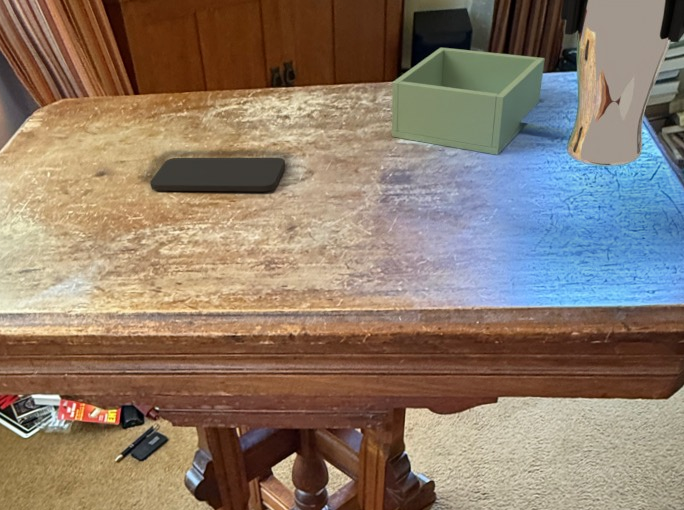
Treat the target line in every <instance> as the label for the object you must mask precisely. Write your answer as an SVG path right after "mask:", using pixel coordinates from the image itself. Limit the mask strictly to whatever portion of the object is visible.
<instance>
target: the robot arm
mask: <svg viewBox="0 0 684 510" xmlns="http://www.w3.org/2000/svg"><path fill="white" fill-rule="evenodd" d="M582 2H583V0H562V3H561V12H560V19H561V21H565V28H564V35H567V36H568V35H569V36H572V35H574V34H576V33H578V25H579V18H580V13H581V7H582ZM683 36H684V0H676V3H675V8H674V13H673V17H672V22H671V27H670V31H669V36H668V40H670V43H679V41H680V40H681V39H682V37H683Z"/></svg>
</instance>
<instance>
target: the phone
mask: <svg viewBox="0 0 684 510" xmlns="http://www.w3.org/2000/svg"><path fill="white" fill-rule="evenodd" d="M285 168H286V161H285V159H284V158H282V157H172V158H169V159H166V160H165V161H164V162H163V164H162V165H161V166H160V168H159V169H158V170H157V172H156V173H155V174H154V176H153V177H152V178H151V179H150V182H149V183H150V184H149V185H150V188H151V189H152V191H153V190H154V191H161V192H163V191H164V192H166V191H167V192H182V191H183V192H270V191H272V190H274V189H275V188H276V187H277V186H278V184H279V181H280V179H281V178H282V175H283V173H284V170H285Z"/></svg>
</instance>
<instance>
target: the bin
mask: <svg viewBox="0 0 684 510" xmlns="http://www.w3.org/2000/svg"><path fill="white" fill-rule="evenodd" d="M545 60H546V59H545V57H537V56H529V55H518V54H509V53H497V52H489V51H480V50H479V51H478V50H468V49H461V48H460V49H459V48H452V47H451V48H449V47H439V48H438V49H436V50H435V51H433V52H432V53H431V54H430V55H428V56H427V57H425V58H424V59H422V60H421V61H420V62H418V63H417V64H416V65H414V66H413V67H411V68H410V69H409V70H407V71H406V72H405V73H403V74H402V75H400V76H399V77H397V78H396V79H394V80H393V81H392V82H391V123H392V124H391V137H393V138H398V139H404V140H410V141H416V142H421V143H426V144H433V145H438V146H444V147H450V148H455V149H461V150H468V151H473V152H479V153H484V154H489V155H496V156H498V155H499V154H500V153H501V152H503V150H504V149H505V148H506V147H507V146H508V145H509V144H510V143H511V141H512V140H513V139H514V138H515V137H516V136H517V135H518V134H520V132H521V131H522V129H524V127H526V125H527V124H528V122H521V121H522V120H523V119H524V118H525V117H527V115H528V114H529V113H530V112H531V111H532V110H533V109H534V108H535V107H536V106H537V105H538V103H540V99H541V89H542V82H543V75H544V68H545V67H544V66H545Z"/></svg>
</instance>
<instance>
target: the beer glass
mask: <svg viewBox="0 0 684 510" xmlns="http://www.w3.org/2000/svg"><path fill="white" fill-rule="evenodd" d="M675 3H676V0H583V2H582V7H581V13H580V18H579V25H578V31H577V34H576V35H577V36H576V77H577V78H576V82H577V108H576V115H575V120H574V124H573V127H572V131H571V134H570V136H569V139H568V141H567V144H566V153H567V155H568V156H569V157H570V158H571V159H572V160H574V161H576V162H578V163H582V164H584V165H589V166H594V167H609V168H610V167H620V166H625V165H628V164H631V163H633V162H635V161H637V160H638V159H639V158H640V157H641V154H642V151H643V122H644V117H645V112H646V109H647V106H648V105H647V104H648V102H649V99H650V97H651V94H652V92H653V89H654V87H655V84H656V82H657V80H658V77H659V74H660V73H661V70H662V67H663V65H664V62H665V59H666V57H667V54H668V51H669V48H670V45H671V42H670V40H668V36H669V31H670V27H671V22H672V17H673V13H674V8H675Z"/></svg>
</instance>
